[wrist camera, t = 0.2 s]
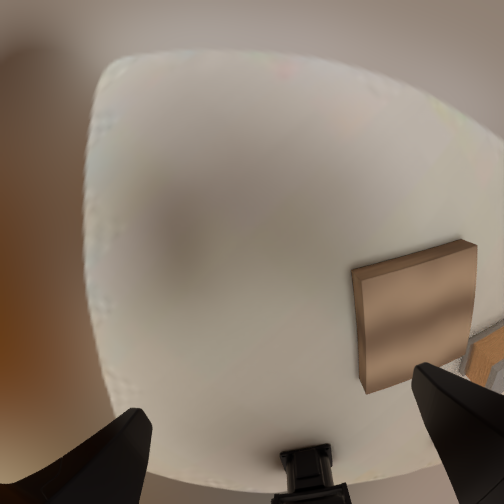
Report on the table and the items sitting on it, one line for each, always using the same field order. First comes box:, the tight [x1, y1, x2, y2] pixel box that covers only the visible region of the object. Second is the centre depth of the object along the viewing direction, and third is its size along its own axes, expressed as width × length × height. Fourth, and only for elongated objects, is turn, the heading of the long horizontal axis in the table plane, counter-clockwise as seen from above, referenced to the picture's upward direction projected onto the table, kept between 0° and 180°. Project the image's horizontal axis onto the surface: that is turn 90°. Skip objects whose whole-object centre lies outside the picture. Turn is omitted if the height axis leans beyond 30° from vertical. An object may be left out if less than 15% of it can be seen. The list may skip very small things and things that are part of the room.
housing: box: [459, 319, 504, 394], centre depth 20 cm, size 5×8×7 cm, turn 104°
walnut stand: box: [351, 239, 477, 395], centre depth 21 cm, size 12×12×2 cm
